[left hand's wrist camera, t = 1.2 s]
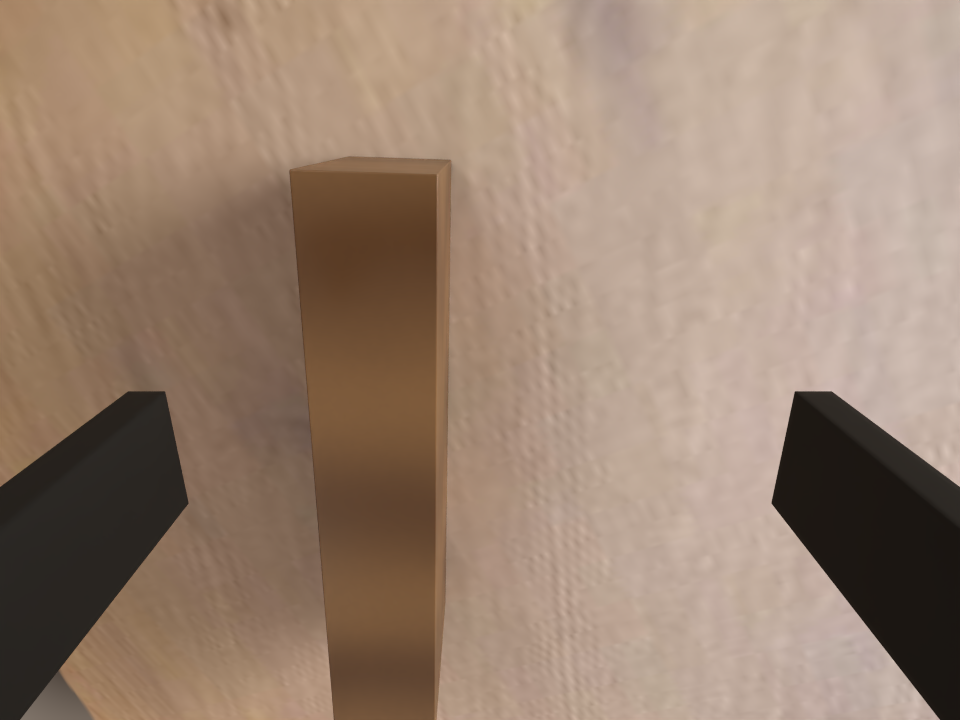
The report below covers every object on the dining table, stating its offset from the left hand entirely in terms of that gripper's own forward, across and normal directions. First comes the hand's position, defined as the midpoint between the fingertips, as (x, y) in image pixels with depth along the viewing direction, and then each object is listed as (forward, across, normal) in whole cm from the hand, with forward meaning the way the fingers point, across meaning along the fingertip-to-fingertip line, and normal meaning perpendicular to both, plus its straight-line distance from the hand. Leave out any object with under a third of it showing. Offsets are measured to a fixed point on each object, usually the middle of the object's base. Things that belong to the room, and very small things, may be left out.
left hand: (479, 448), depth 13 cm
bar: (+17, -4, -7) cm, 19 cm away
